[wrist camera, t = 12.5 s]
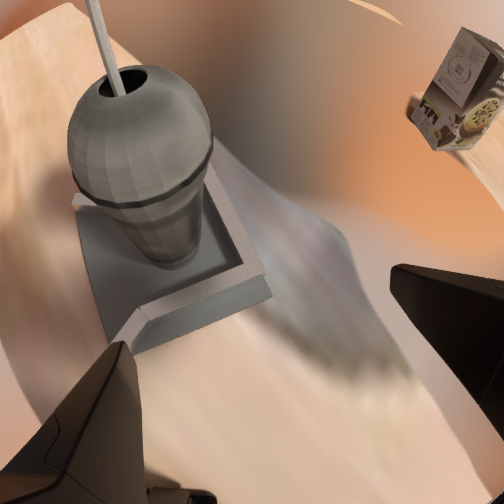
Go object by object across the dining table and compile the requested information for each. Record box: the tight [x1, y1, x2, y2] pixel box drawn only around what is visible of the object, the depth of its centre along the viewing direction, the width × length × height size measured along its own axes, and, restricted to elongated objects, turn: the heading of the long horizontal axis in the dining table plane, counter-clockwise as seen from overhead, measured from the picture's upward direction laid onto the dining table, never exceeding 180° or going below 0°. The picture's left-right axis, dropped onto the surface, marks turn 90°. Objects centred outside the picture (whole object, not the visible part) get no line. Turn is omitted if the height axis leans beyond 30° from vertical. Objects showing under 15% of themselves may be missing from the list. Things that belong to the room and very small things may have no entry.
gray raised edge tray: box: [75, 189, 273, 356], centre depth 24 cm, size 13×14×1 cm
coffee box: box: [411, 27, 504, 151], centre depth 27 cm, size 9×6×16 cm
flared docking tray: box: [71, 162, 266, 353], centre depth 23 cm, size 13×15×2 cm
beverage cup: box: [67, 0, 213, 270], centre depth 15 cm, size 7×7×20 cm
